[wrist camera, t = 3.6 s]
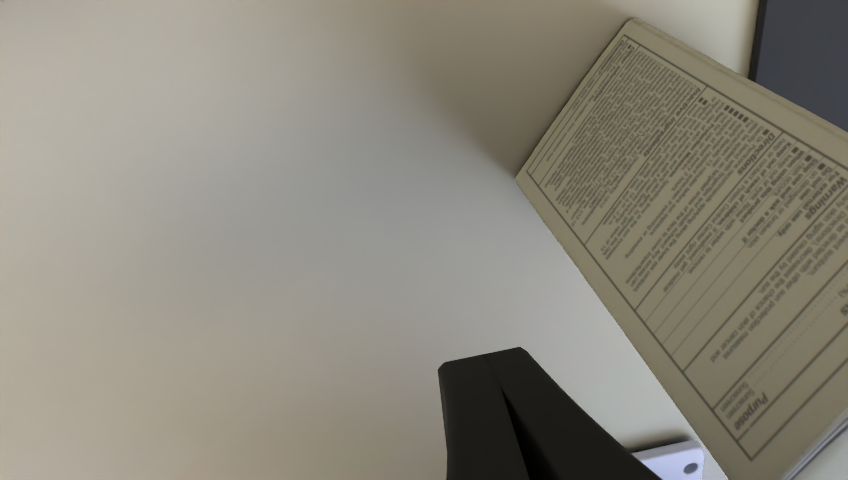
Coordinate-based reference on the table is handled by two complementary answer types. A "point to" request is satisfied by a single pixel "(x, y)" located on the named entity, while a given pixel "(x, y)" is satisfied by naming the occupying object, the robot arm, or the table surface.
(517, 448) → the robot arm
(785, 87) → the mat
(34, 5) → the table surface
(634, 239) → the box
